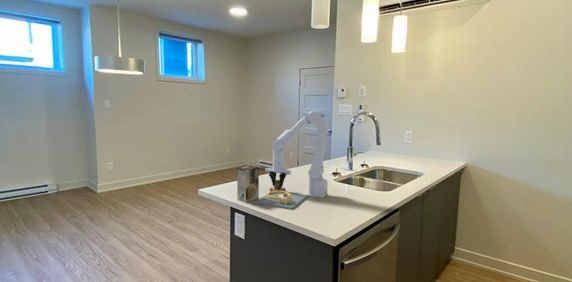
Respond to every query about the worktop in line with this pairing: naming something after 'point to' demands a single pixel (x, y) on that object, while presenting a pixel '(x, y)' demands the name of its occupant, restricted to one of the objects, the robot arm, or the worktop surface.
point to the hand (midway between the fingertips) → (277, 186)
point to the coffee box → (247, 183)
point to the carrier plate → (275, 203)
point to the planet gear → (277, 186)
